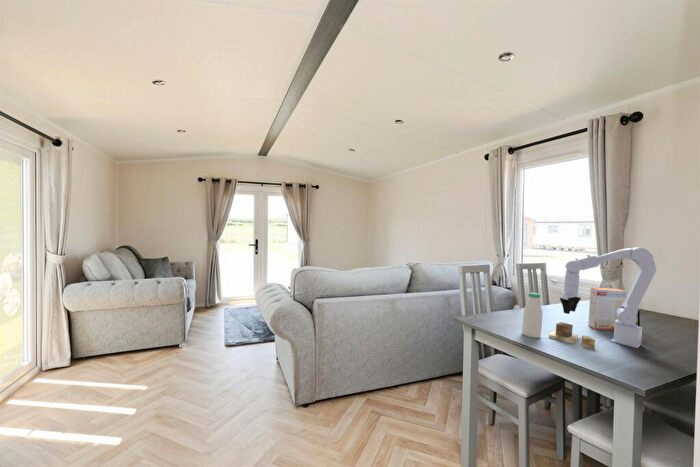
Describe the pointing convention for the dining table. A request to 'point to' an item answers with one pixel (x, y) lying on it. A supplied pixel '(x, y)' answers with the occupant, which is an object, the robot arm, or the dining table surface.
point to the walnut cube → (564, 329)
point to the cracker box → (604, 307)
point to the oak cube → (588, 342)
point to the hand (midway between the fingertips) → (569, 312)
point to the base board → (570, 339)
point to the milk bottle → (532, 317)
